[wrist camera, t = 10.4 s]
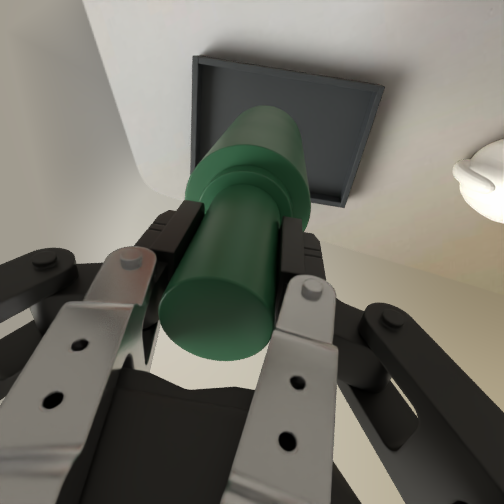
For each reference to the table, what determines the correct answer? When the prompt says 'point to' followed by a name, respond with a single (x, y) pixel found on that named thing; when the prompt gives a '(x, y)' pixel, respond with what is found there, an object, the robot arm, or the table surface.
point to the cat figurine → (484, 180)
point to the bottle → (237, 237)
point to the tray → (300, 110)
